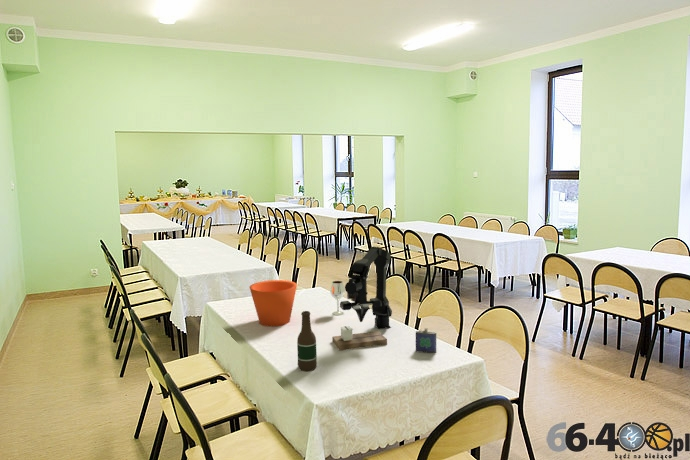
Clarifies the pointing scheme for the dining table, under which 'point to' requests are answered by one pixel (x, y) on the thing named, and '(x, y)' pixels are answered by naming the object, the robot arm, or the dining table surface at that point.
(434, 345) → the flask
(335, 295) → the wineglass
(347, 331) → the fader knob
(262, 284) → the flowerpot
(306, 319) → the beer bottle
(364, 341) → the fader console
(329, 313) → the dining table surface
